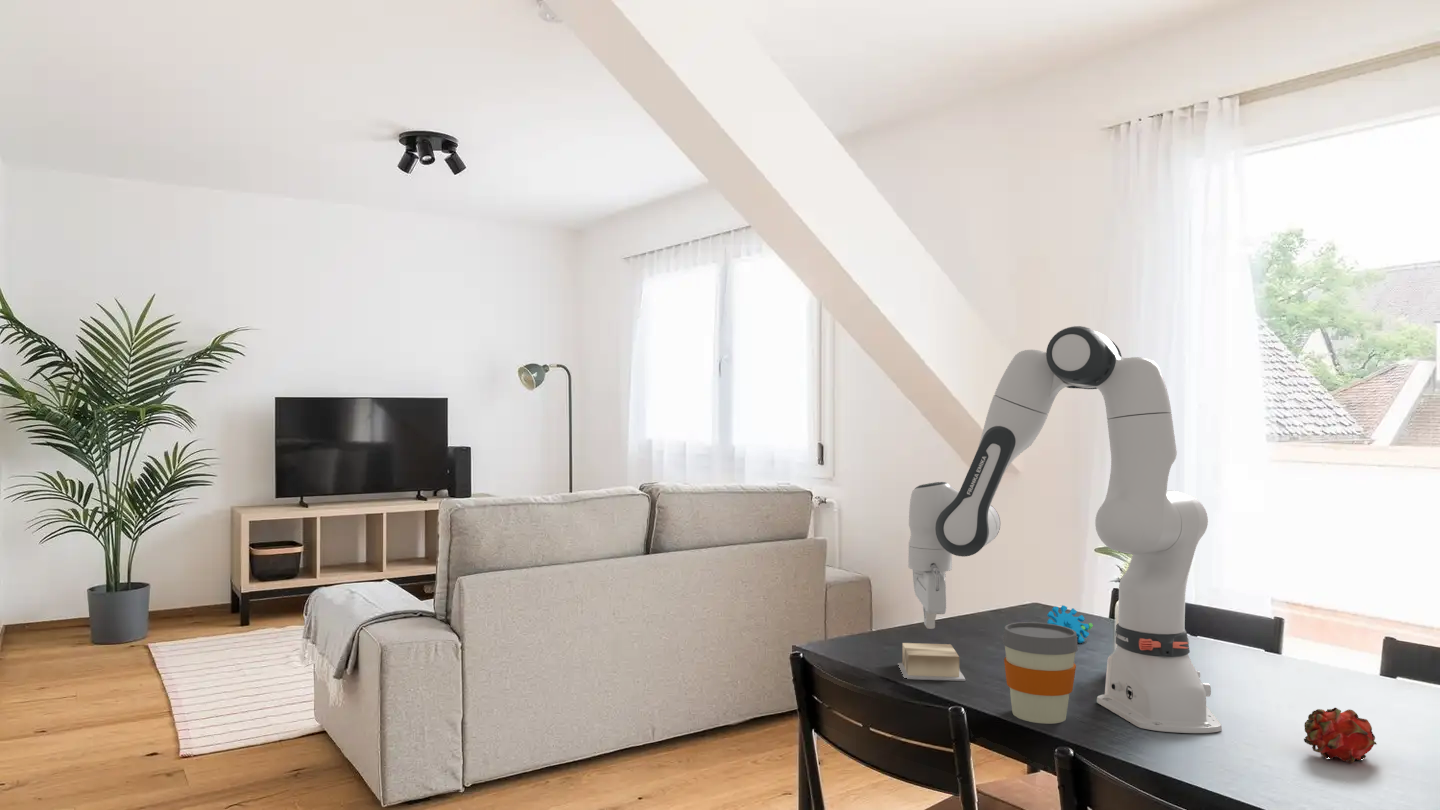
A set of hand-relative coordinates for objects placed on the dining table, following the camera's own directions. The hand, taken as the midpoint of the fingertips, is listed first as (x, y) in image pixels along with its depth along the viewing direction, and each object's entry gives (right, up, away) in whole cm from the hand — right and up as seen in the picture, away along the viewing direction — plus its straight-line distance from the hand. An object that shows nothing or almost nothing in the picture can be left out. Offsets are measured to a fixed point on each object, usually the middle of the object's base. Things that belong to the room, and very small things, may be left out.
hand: (929, 627), depth 197 cm
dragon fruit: (+54, -9, -48) cm, 73 cm away
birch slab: (0, -6, +3) cm, 7 cm away
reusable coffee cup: (+13, -9, -30) cm, 33 cm away
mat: (0, -8, -3) cm, 9 cm away
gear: (+39, -9, +26) cm, 47 cm away
